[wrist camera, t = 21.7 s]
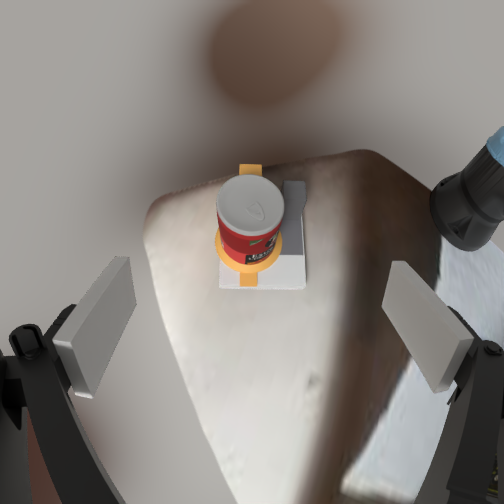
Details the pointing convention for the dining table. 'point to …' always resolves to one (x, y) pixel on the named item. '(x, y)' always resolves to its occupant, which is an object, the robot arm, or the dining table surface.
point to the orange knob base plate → (283, 256)
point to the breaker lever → (250, 169)
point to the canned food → (249, 217)
